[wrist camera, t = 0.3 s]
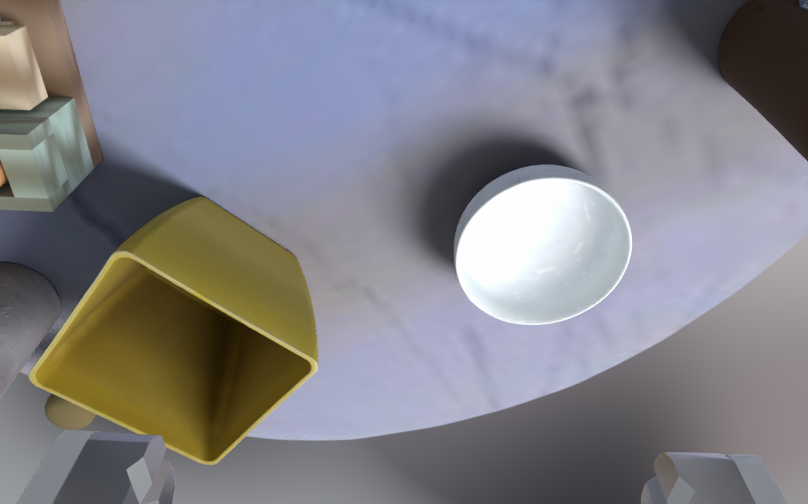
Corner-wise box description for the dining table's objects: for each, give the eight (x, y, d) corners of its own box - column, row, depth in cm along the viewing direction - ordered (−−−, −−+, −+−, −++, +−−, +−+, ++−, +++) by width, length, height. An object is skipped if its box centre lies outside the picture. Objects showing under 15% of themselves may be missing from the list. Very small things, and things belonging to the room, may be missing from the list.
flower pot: (186, 149, 59) (116, 247, 45) (342, 254, 66) (323, 367, 52) (103, 268, 67) (23, 381, 54) (249, 350, 74) (211, 468, 60)
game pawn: (105, 323, 72) (61, 394, 63) (142, 354, 75) (105, 426, 66) (71, 342, 74) (22, 413, 65) (108, 372, 77) (67, 444, 68)
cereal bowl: (599, 283, 67) (616, 326, 61) (449, 284, 68) (452, 327, 62) (627, 142, 58) (651, 177, 52) (452, 145, 58) (456, 180, 52)
